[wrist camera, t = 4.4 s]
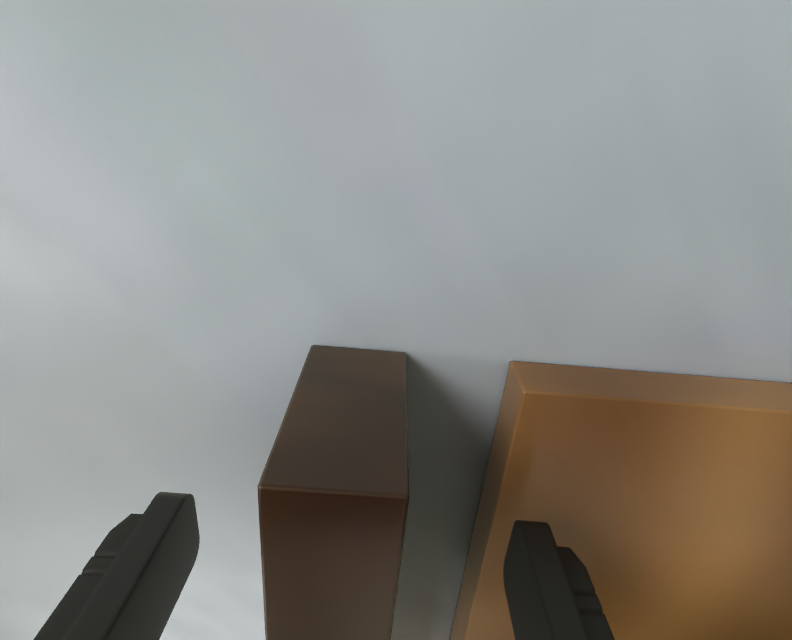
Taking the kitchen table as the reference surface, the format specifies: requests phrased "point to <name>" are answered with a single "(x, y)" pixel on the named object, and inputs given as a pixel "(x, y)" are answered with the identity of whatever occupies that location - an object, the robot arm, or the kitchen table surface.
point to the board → (643, 500)
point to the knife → (336, 499)
